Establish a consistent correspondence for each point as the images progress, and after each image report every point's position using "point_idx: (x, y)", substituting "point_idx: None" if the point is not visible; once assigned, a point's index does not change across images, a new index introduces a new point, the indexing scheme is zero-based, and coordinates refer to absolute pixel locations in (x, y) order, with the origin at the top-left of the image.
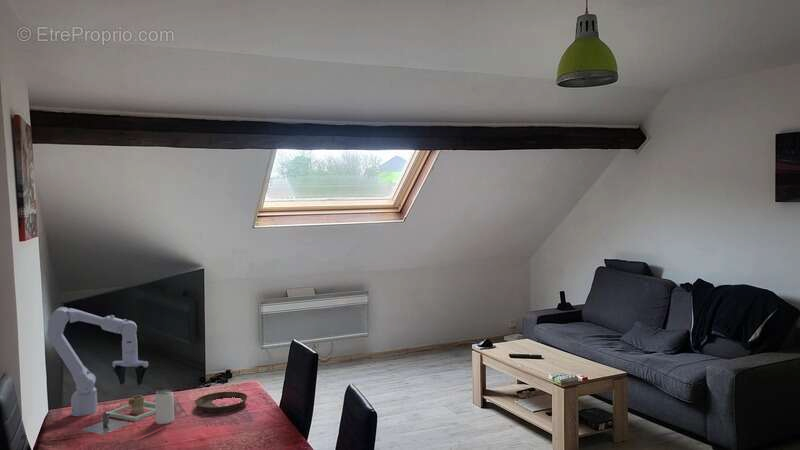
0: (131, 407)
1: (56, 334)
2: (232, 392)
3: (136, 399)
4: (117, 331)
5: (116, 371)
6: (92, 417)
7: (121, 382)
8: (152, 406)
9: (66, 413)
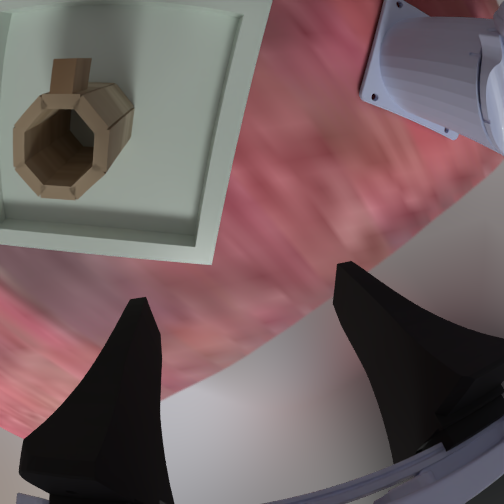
0: (104, 87)
1: None
2: None
3: (29, 107)
4: None
5: (466, 345)
6: (358, 10)
7: (346, 274)
8: (83, 226)
9: None
